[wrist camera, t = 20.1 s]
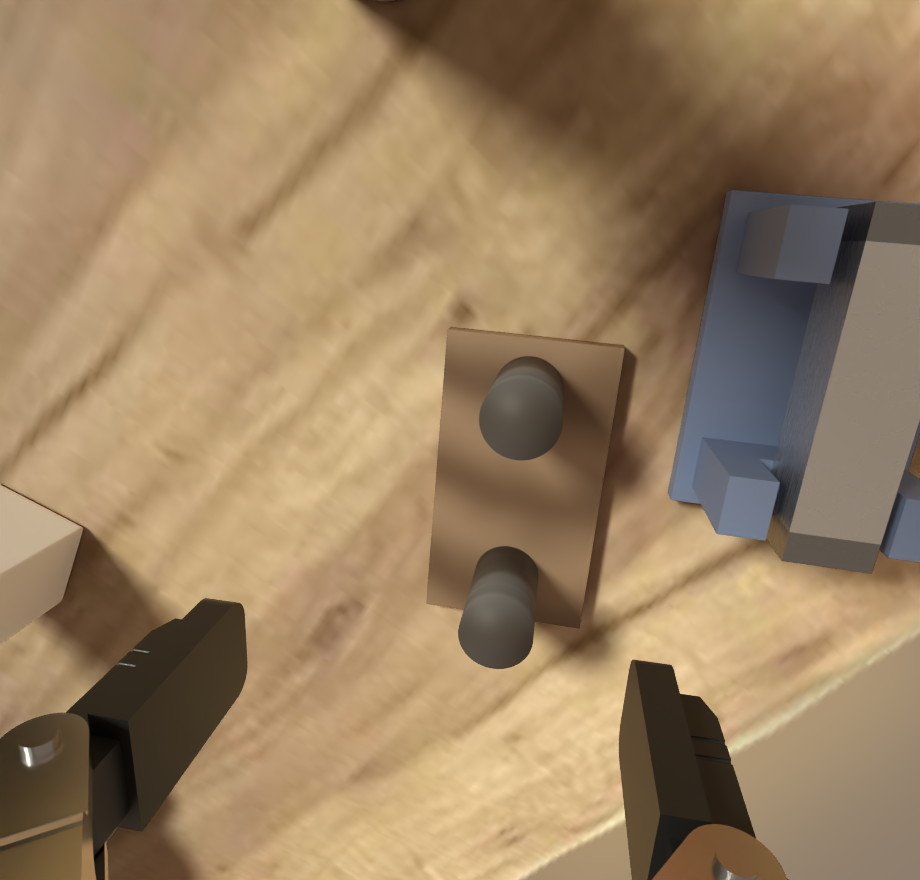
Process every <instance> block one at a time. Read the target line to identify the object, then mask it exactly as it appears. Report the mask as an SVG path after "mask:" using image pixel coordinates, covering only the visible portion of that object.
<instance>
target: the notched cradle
mask: <svg viewBox="0 0 920 880" xmlns="http://www.w3.org/2000/svg"><path fill="white" fill-rule="evenodd" d="M870 202H885V201H872V200H858V199H845V198H831V197H818V196H805V195H791V194H778V193H764V192H751V191H738V190H731V191H728V192H727V193H726V198H725V203H724V208H723V213H722V218H721V223H720V229H719V234H718V239H717V244H716V249H715V254H714V259H713V264H712V269H711V275H710V280H709V285H708V290H707V295H706V300H705V305H704V310H703V315H702V320H701V326H700V331H699V336H698V341H697V346H696V351H695V356H694V361H693V366H692V372H691V377H690V382H689V387H688V392H687V397H686V402H685V407H684V412H683V418H682V423H681V428H680V433H679V438H678V443H677V448H676V453H675V458H674V463H673V469H672V474H671V479H670V484H669V489H668V494H669V497H670V499H671V500H675V501H683V502H690V503H698V504H701V505H702V507H703V509H704V511H705V513H706V514H707V516H708V518H709V520H710V522H711V524H712V526H713V528H714V530H715V532H716V533H717V534H721V535H728V536H735V537H742V538H749V539H757V540H764V541H765V540H766V536H767V532H768V528H769V524H770V520H771V516H772V512H773V508H774V504H775V500H776V496H777V492H778V488H779V484H780V482H779V481H778V480H777V479H776V477H775V476H774V475H773V474H772V473H771V470H772V466H773V462H774V458H775V454H776V450H777V446H778V442H779V438H780V434H781V429H782V425H783V421H784V417H785V413H786V409H787V405H788V401H789V397H790V393H791V389H792V385H793V381H794V377H795V373H796V368H797V364H798V360H799V356H800V352H801V348H802V344H803V340H804V336H805V332H806V328H807V324H808V320H809V316H810V312H811V308H812V303H813V299H814V295H815V291H816V287H817V283H823V284H830V282H831V278H832V274H833V270H834V266H835V262H836V258H837V254H838V250H839V246H840V242H841V238H842V234H843V230H844V226H845V222H846V218H847V214H848V210H849V209H843V208H836V207H843V206H850V205H856V204H863V203H870ZM889 203H898V202H889ZM902 204H912V203H902ZM915 205H920V204H915ZM919 435H920V421H919V424H918V427H917V430H916V434H915V437H914V440H913V443H912V446H911V450H910V453H909V456H908V459H907V462H906V466H905V469H904V472H903V475H902V478H901V482H900V485H899V488H898V491H897V494H896V498H895V501H894V504H893V507H892V510H891V514H890V517H889V520H888V523H887V526H886V530H885V533H884V536H883V539H882V542H881V546H880V549H879V550H880V551H881V552H882V553H884V554H885V555H886V556H887V557H888V558H892V559H900V560H907V561H914V562H920V479H919V478H918V477H916V476H915V475H913V474H911V473H910V472H908V470H909V466H910V463H911V460H912V457H913V454H914V451H915V447H916V444H917V441H918V438H919Z"/></svg>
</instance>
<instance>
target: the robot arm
mask: <svg viewBox="0 0 920 880" xmlns="http://www.w3.org/2000/svg"><path fill="white" fill-rule="evenodd" d="M375 1H381V2H382V1H394V0H375ZM246 674H247V648H246V630H245V613H244V608H243V606H242V604H240V603H236V602H229V601H222V600H215V599H208V598H206V599H203V600H201V601H200V602H199V603H198V604H197V605H196V606H195V607H194V608H193V609H192V610H191V611H190V612H189V613H188V614H187V615H186V616H185V617H184V618H183V619H182V620H181V619H174V620H172V621H170V622H168V623H166V624H164V625H162V626H161V627H159V628H157V629H155V630H153V631H151V632H150V633H149V634H148V635H147V636H146V637H145V638H144V639H143V640H142V641H141V642H139V643H138V644H137V645H136V646H135V647H134V649H133V652H131V651H130V652H129V653H128V654H127V655H126V656H125V657H124V658H123V659H122V660H121V661H119V665H115V666H114V667H113V668H112V669H111V670H110V671H109V672H108V673H107V674H106V675H105V676H104V677H103V678H102V679H101V680H99V681H98V682H97V683H96V684H95V685H94V686H93V687H92V688H91V689H90V690H89V691H88V692H87V693H86V694H85V695H84V696H83V697H82V698H81V699H79V700H78V701H77V702H76V703H75V704H74V705H73V706H72V707H71V708H70V709H69V710H68V711H67V712H66V713H52V714H47V715H42V716H39V717H36V718H33V719H30V720H28V721H26V722H24V723H22V724H20V725H18V726H16V727H14V728H13V729H11V730H10V731H8V732H7V733H6V734H4V735H3V736H2V737H1V738H0V880H108V852H107V845H106V841H107V839H108V838H109V837H110V835H111V834H112V833H113V831H114V830H115V829H116V827H122V828H127V829H132V830H137V831H143V830H144V828H145V827H146V825H147V824H148V823H149V821H150V820H151V818H152V817H153V816H154V814H155V813H156V811H157V810H158V809H159V807H160V806H161V804H162V803H163V801H164V800H165V799H166V797H167V796H168V794H169V793H170V792H171V790H172V789H173V787H174V786H175V785H176V783H177V782H178V780H179V779H180V778H181V776H182V775H183V773H184V772H185V771H186V769H187V768H188V766H189V765H190V764H191V762H192V761H193V759H194V758H195V757H196V755H197V754H198V752H199V751H200V750H201V748H202V747H203V745H204V744H205V743H206V741H207V740H208V738H209V737H210V736H211V734H212V733H213V731H214V730H215V729H216V727H217V726H218V724H219V723H220V722H221V720H222V719H223V717H224V716H225V715H226V713H227V712H228V710H229V709H230V708H231V706H232V705H233V703H234V702H235V700H236V699H237V698H238V696H239V694H240V693H241V690H242V688H243V685H244V682H245V679H246ZM619 761H620V770H621V780H622V789H623V799H624V808H625V818H626V827H627V837H628V846H629V856H630V865H631V875H632V880H788V879H787V878H786V874H785V872H784V870H783V868H782V866H781V865H780V863H779V862H778V860H777V859H776V857H775V856H774V855H773V854H772V853H771V851H770V850H769V849H768V848H766V847H765V846H764V845H763V844H762V843H761V842H759V841H758V840H757V839H756V837H755V834H754V831H753V827H752V824H751V821H750V818H749V815H748V812H747V809H746V805H745V802H744V799H743V796H742V793H741V790H740V787H739V783H738V780H737V777H736V774H735V771H734V768H733V765H731V758H730V755H729V752H728V749H727V746H726V745H725V740H724V736H723V733H722V730H721V727H720V724H719V721H718V718H717V717H716V716H715V714H714V713H713V712H712V711H711V710H710V708H709V707H708V706H707V705H706V704H705V702H704V701H703V700H702V699H701V698H700V697H698V696H691V695H684V694H680V693H679V689H678V685H677V681H676V677H675V673H674V669H673V667H672V665H668V664H660V663H653V662H646V661H639V660H632V661H631V664H630V669H629V675H628V681H627V687H626V693H625V699H624V705H623V711H622V717H621V724H620V734H619Z"/></svg>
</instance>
